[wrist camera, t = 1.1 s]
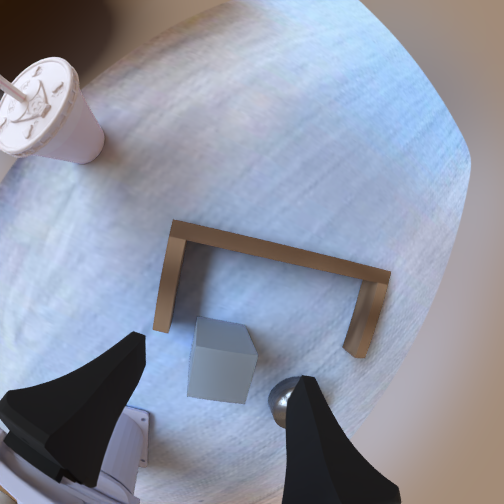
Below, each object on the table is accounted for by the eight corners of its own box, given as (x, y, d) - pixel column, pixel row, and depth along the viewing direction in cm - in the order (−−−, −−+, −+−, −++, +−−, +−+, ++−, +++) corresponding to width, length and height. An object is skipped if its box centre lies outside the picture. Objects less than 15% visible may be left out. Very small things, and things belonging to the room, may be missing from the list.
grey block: (234, 365, 23) (244, 404, 17) (189, 357, 22) (186, 396, 16) (244, 324, 22) (258, 355, 17) (197, 315, 22) (195, 345, 16)
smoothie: (83, 101, 18) (6, 16, 4) (133, 126, 19) (66, 22, 6) (45, 162, 18) (-61, 118, 4) (93, 192, 19) (-24, 156, 5)
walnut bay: (352, 347, 25) (364, 358, 22) (157, 319, 21) (152, 329, 19) (375, 267, 24) (391, 271, 22) (176, 220, 21) (172, 219, 18)
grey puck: (306, 414, 25) (315, 428, 22) (262, 414, 24) (267, 429, 21) (322, 376, 24) (332, 389, 22) (275, 374, 24) (282, 387, 21)
